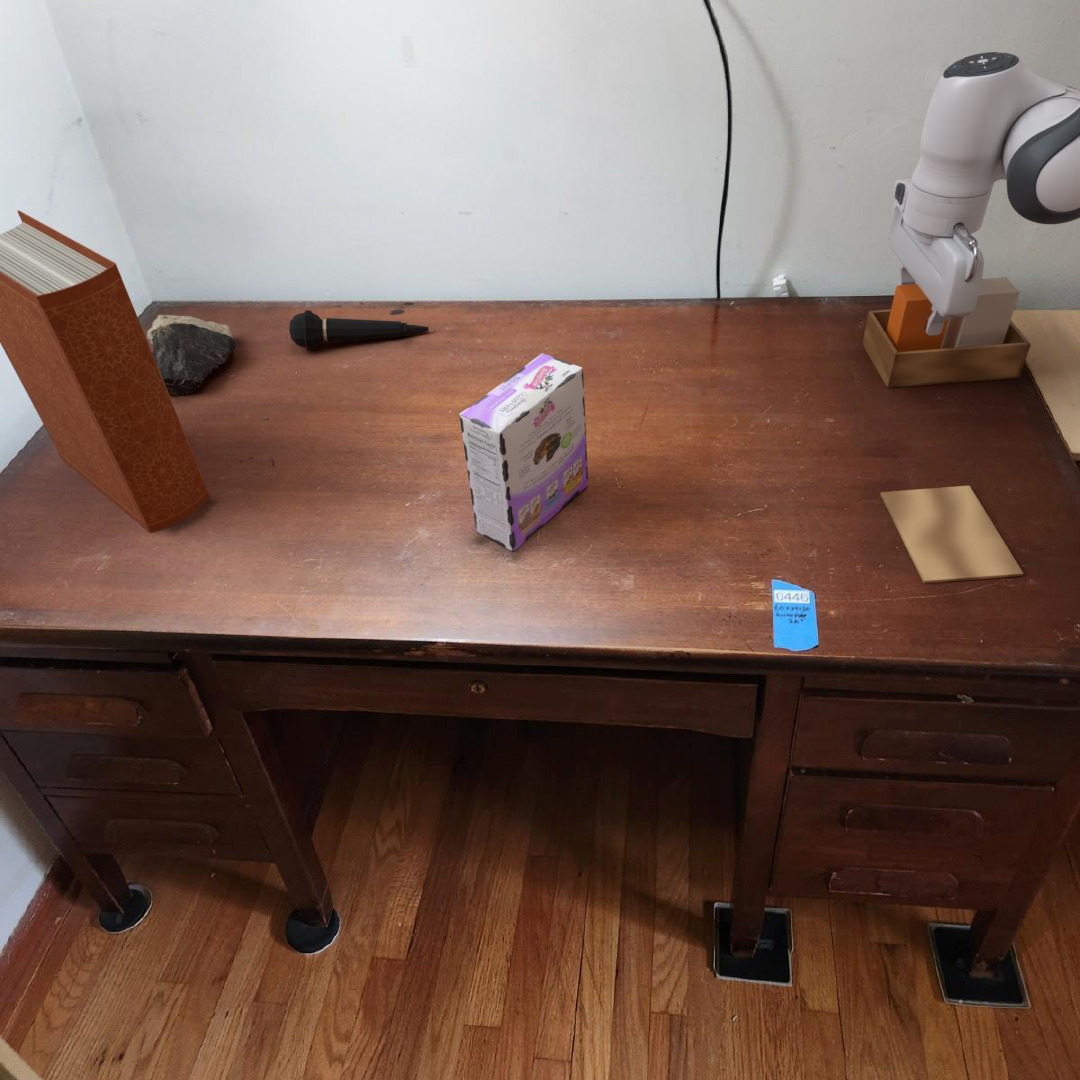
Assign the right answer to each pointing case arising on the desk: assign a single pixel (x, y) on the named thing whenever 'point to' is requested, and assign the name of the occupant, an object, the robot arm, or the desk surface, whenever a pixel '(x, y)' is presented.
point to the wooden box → (942, 358)
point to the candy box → (526, 449)
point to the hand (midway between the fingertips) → (918, 313)
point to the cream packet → (984, 316)
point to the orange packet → (911, 321)
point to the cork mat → (949, 535)
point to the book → (94, 375)
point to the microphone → (344, 330)
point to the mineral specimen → (188, 350)
